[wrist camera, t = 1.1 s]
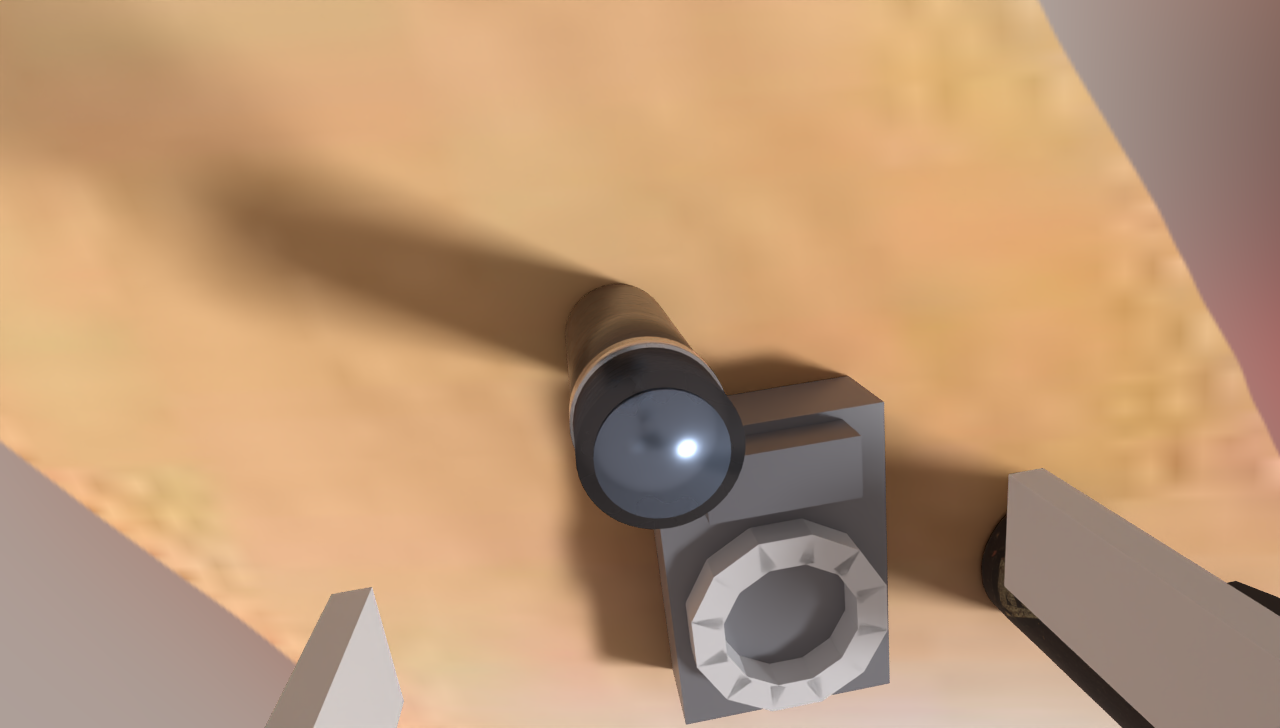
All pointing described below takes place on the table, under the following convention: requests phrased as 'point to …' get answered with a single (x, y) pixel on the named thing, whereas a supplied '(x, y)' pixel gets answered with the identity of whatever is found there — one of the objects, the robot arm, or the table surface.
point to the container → (1050, 636)
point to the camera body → (785, 560)
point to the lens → (646, 413)
